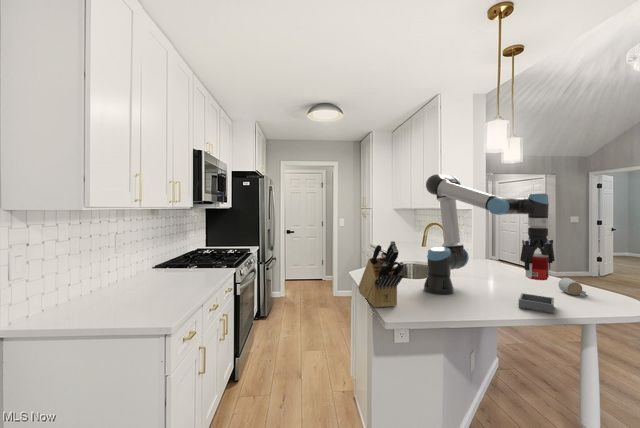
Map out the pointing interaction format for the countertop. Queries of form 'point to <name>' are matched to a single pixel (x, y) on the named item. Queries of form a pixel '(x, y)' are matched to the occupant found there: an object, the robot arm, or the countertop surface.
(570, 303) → the countertop surface
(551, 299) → the tray
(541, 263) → the canned food
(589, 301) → the countertop surface
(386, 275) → the knife block
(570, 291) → the ceramic mug
